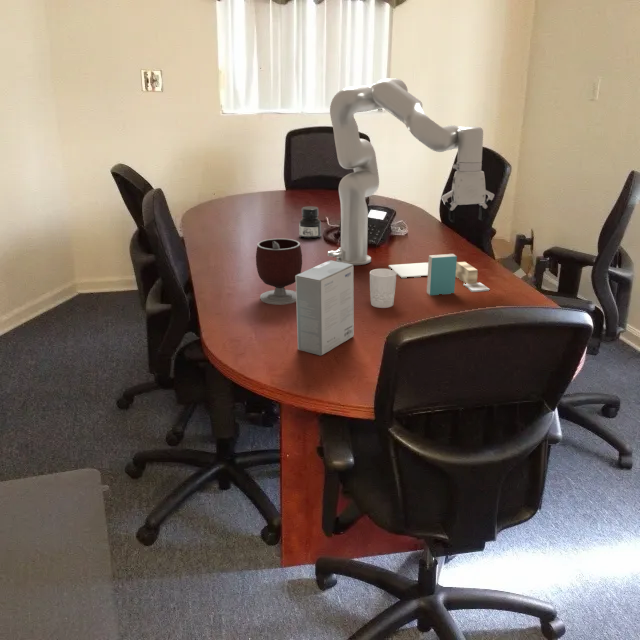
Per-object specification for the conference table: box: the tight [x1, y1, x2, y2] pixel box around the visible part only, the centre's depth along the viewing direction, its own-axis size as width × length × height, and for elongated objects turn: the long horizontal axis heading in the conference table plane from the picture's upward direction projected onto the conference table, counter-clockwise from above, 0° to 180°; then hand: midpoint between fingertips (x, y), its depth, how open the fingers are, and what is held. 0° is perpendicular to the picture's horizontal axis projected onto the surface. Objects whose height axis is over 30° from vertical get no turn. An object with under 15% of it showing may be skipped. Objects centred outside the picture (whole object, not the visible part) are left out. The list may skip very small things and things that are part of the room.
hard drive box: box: [295, 260, 355, 357], centre depth 170 cm, size 16×8×20 cm, turn 145°
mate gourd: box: [255, 238, 303, 306], centre depth 202 cm, size 16×14×20 cm
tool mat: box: [388, 262, 428, 279], centre depth 233 cm, size 24×14×1 cm, turn 103°
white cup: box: [369, 268, 397, 309], centre depth 199 cm, size 8×8×10 cm
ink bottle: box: [298, 205, 322, 239], centre depth 276 cm, size 10×9×12 cm
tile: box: [426, 253, 458, 296], centre depth 208 cm, size 8×3×12 cm, turn 103°
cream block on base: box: [455, 261, 491, 293], centre depth 218 cm, size 16×6×5 cm, turn 13°
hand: (466, 221), depth 217 cm, fingers open, 9 cm apart
